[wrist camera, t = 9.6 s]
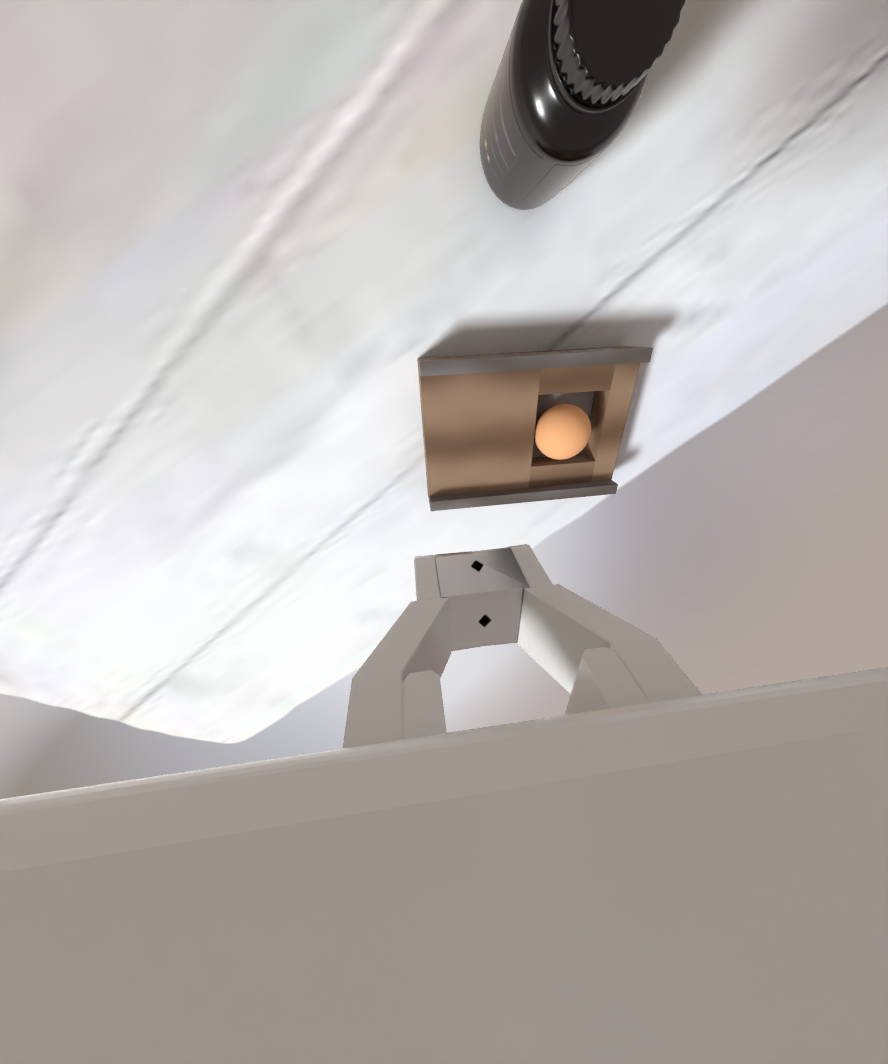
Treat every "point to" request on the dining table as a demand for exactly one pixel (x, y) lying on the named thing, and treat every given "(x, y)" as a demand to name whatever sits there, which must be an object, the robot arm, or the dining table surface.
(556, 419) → the ball
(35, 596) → the dining table surface
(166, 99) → the dining table surface
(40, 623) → the dining table surface
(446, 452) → the lane
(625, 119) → the supplement bottle
